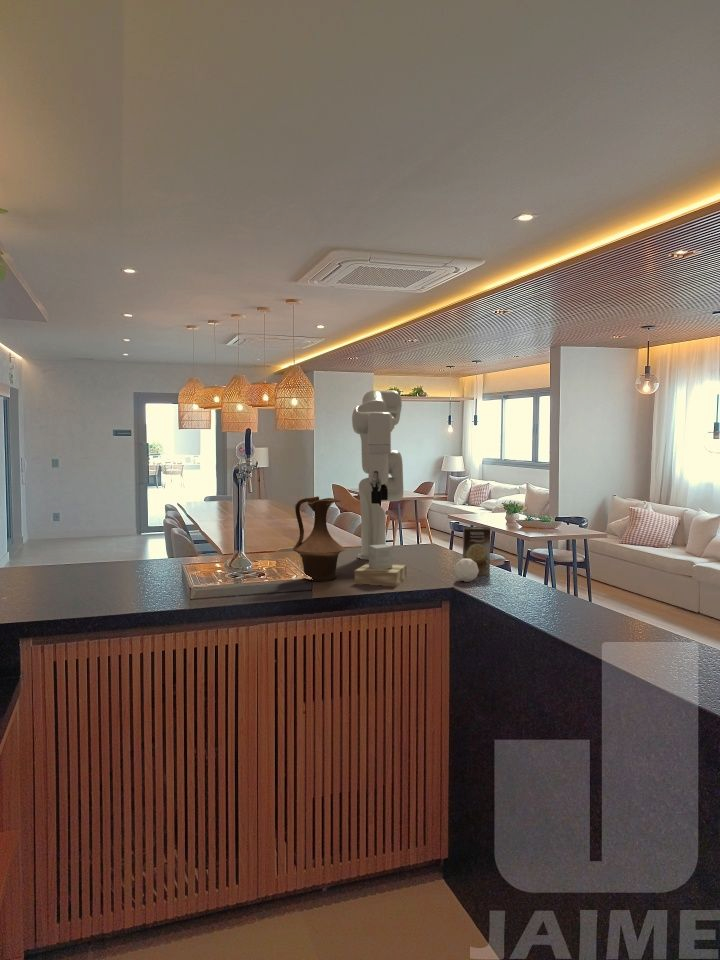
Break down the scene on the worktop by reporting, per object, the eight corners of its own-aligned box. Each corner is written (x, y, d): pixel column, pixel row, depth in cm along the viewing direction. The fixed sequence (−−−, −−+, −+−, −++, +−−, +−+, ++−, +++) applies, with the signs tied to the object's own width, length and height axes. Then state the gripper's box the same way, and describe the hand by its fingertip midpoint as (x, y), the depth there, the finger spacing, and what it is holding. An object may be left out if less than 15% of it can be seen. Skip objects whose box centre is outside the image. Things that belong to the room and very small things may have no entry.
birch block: (367, 577, 236) (366, 562, 236) (406, 579, 232) (406, 564, 232) (354, 586, 223) (354, 570, 223) (396, 588, 219) (396, 573, 218)
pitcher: (296, 585, 222) (295, 499, 220) (290, 574, 239) (289, 494, 237) (349, 582, 226) (348, 497, 224) (340, 572, 242) (339, 493, 240)
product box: (384, 565, 231) (384, 543, 231) (392, 568, 226) (392, 546, 225) (368, 566, 229) (368, 545, 229) (376, 570, 223) (375, 548, 223)
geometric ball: (473, 589, 225) (485, 572, 221) (452, 582, 223) (464, 565, 219) (468, 574, 231) (480, 557, 228) (447, 567, 229) (460, 550, 225)
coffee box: (463, 575, 235) (463, 528, 234) (462, 571, 241) (462, 526, 240) (490, 575, 234) (490, 529, 233) (488, 571, 240) (488, 526, 239)
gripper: (374, 448, 234) (374, 498, 236) (361, 451, 217) (362, 504, 219) (395, 448, 232) (396, 498, 234) (384, 451, 215) (385, 505, 217)
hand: (379, 501), depth 226 cm, fingers open, 9 cm apart
